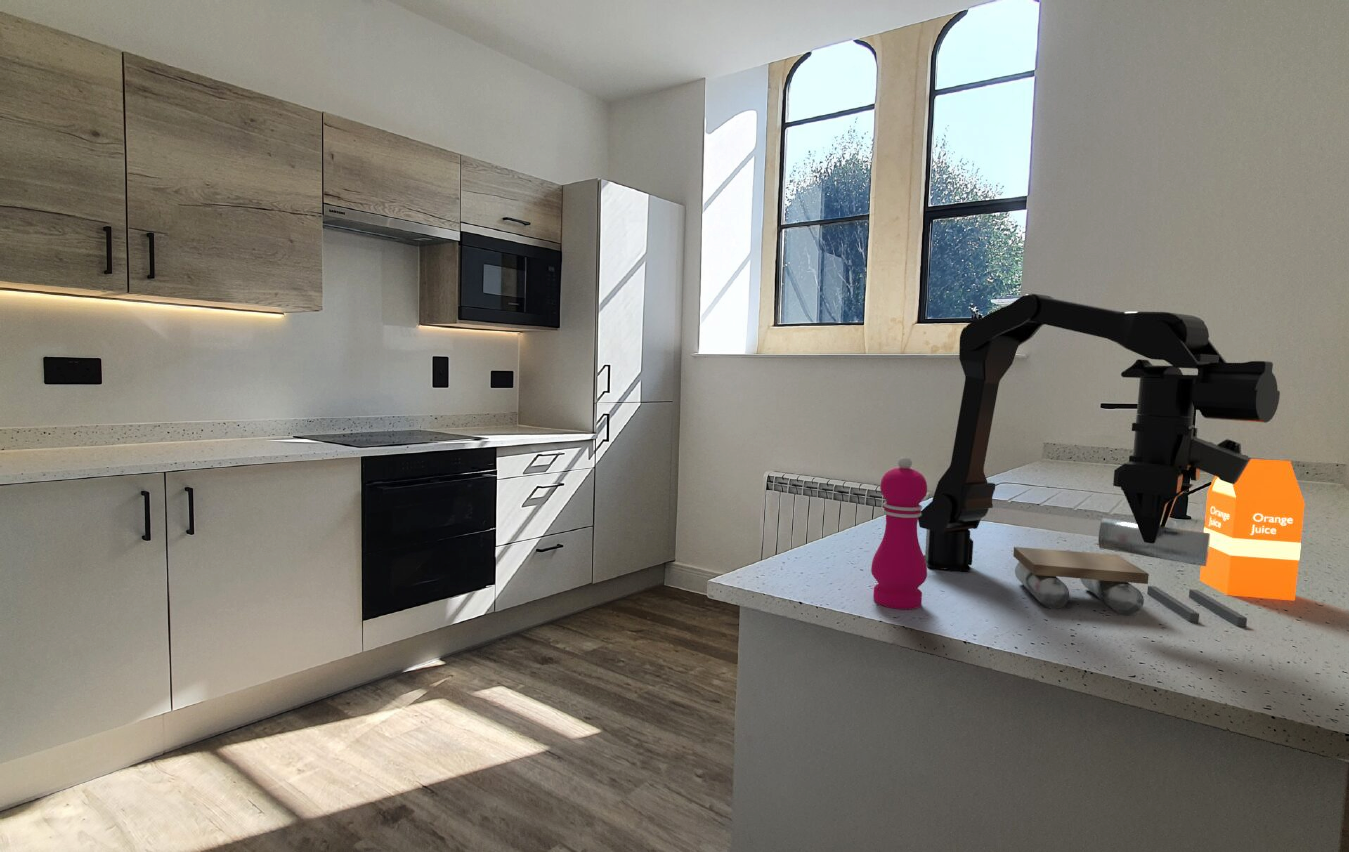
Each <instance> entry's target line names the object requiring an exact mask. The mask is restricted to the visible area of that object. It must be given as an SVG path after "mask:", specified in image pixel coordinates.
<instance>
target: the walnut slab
mask: <svg viewBox="0 0 1349 852" xmlns="http://www.w3.org/2000/svg"><path fill="white" fill-rule="evenodd" d="M1012 557H1014V558H1015V559H1016V560H1017V561H1018V563H1019V562H1020V563H1021V564H1022V565H1024V566H1025V567H1026V568H1027V569H1028V570H1029V571H1030V572H1031V573H1032V574H1033V575H1044V576H1056V577H1057V578H1059V577H1060V578H1068V579H1069V578H1070V579H1071V578H1072V579H1080V578H1081V579H1093V580H1105V581H1117V582H1128V583H1129V584H1132V583H1134V584H1142V585H1143V584H1145V585H1148V584H1149V575H1150V574H1149V573H1148V572H1146V571H1145V570H1144V569H1141V568H1140V567H1139V566H1137V565H1135V564H1133V563H1132V562H1130V561H1129V560H1127V559H1125V558H1124V557H1122V556H1120V555H1118V554H1115V553H1114V554H1113V553H1101V552H1087V551H1085V552H1084V551H1073V550H1060V549H1047V548H1034V547H1033V548H1032V547H1018V546H1013V555H1012ZM1081 579H1080V580H1081Z"/></svg>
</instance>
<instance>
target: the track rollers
mask: <svg viewBox="0 0 1349 852" xmlns="http://www.w3.org/2000/svg"><path fill="white" fill-rule="evenodd" d="M1014 575H1015V577H1016V579H1017V580H1018V581H1019V582H1020V583H1021V585H1023V587H1025V589H1027V590H1028V592H1029V593H1030V594H1031V595H1033V597H1034V598H1036V600H1037V601H1038V602H1039V603H1040V604H1041V605H1042V606H1044V607H1046V608H1048V609H1060V608H1062V607H1063V606H1065V605H1066V604H1067V602H1068V601H1069V599H1070V590H1069V587H1068V586H1067V585H1066V584H1065V583H1064V582H1063V581H1062V580H1061V579H1060V578H1059V577H1057V576H1044V575H1033V574H1032V573H1031V572H1030V571H1029V570H1028V569H1027V568H1026V567H1025V566H1024V565H1022V564H1021V563H1020V562H1019V561H1018V563H1017V564H1016V566H1015V568H1014ZM1079 579H1080V582H1081V584H1082V586H1084V587H1085V588H1086V589H1088V591H1090V592H1091V593H1093V594H1094V595H1095V596H1096V597H1098V599H1100V600H1101V601H1102V602H1104V603H1105V604H1106V605H1107V606H1109V607H1110V608H1112V609H1113V610H1114V611H1115V612H1117V613H1118V614H1120V615H1123V616H1133V615H1135V614H1137V613H1139V612H1140V611H1141V610H1142V608H1143V607H1144V603H1145V599H1144V595H1143V593H1142V592H1141V590H1139V588H1137V587H1136V586H1134V585H1132V583H1130V582H1117V581H1105V580H1093V579H1081V578H1079Z"/></svg>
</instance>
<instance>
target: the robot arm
mask: <svg viewBox="0 0 1349 852" xmlns="http://www.w3.org/2000/svg"><path fill="white" fill-rule="evenodd" d="M1044 325H1046V326H1051V327H1054V328H1059V329H1063V330H1069V331H1073V332H1076V333H1082V334H1086V335H1090V336H1094V337H1099V338H1103V339H1107V340H1110V341H1112V342H1114V343H1116V344H1117V345H1119V346H1121V348H1124V349H1126V350H1128V351H1131V352H1132V353H1135V354H1137V355H1140V356H1142V357H1144V358H1147V359H1139V358H1138V359H1136V361H1135V362H1134V363H1133V364H1132V365H1131V366H1128V368H1126V369H1125V370H1123V371H1121V374H1120V376H1121V377H1122V378H1128V379H1129V378H1130V379H1134V378H1135V379H1139V382H1138V383H1139V385H1138V395H1137V404H1136V405H1137V406H1136V407H1137V409H1136V417H1135V422H1132V423H1131V432H1134V437H1133V439H1134V441H1133V451H1132V454H1130V455H1129V457H1128V462H1125V463H1123V464H1121V465H1120V466H1118V467H1117V468H1116V469H1114V470H1113V482H1112V486H1113V487H1117V488H1120V490H1121V491H1122V492H1123V494H1124V497H1125V499H1126V501H1127V504H1128V507H1129V508H1130V511H1131V513H1132V515H1133V518H1134V520H1135V522H1136V523H1137V525H1138V528H1139V530H1140V533H1141V535H1142V538H1143V540H1144V542H1146V543H1151V544H1153V543H1155V541H1156V538H1157V535H1158V532H1159V529H1160V526H1163V527H1167V524H1168V522H1169V518H1170V516H1171V513H1172V510H1173V507H1174V505H1175V502H1176V501H1177V498H1178V497H1179V496H1181V495H1182V494H1183V493H1185V492H1186V491H1188V490H1190V489H1191V488H1193V487H1194V484H1192V483H1188V482H1187V483H1186V482H1183V478H1186V479H1187V478H1188V479H1190V481H1198V480H1200V473H1201V472H1200V471H1202V472H1205V473H1207V474H1210V475H1212V476H1214V477H1215V476H1217V477H1218V478H1219V479H1220V480H1222V481H1225V482H1227V483H1230V484H1235V483H1236V482H1237V481H1238V479H1239V478H1240V476H1241V474H1242V473H1243V471H1244V470H1245V468H1246V466H1247V465H1248V463H1249V461H1250V460H1251V459H1252V458H1251V457H1249V455H1246V454H1242V444H1241V443H1239V442H1237V441H1234V440H1232V439H1229V438H1226V439H1224V440H1222V441H1221V442H1219V443H1218V444H1215V443H1214V442H1212V441H1207V440H1204V439H1201V438H1199V437H1198V427H1196V425H1194V424H1193V422H1194V421H1193V420H1194V412H1195V411H1199V412H1200V414H1201V416H1202V417H1203V418H1205V419H1210V420H1222V421H1223V420H1224V421H1238V422H1239V421H1241V422H1251V423H1252V422H1253V423H1268V422H1271V420H1272V419H1273V418H1274V416H1275V414H1276V412H1277V410H1278V406H1279V404H1280V403H1279V402H1280V397H1281V392H1280V390H1279V389H1278V382H1277V379H1276V376H1275V374H1274V373H1273V369H1274V368H1273V367H1274V363H1273V362H1272V361H1269V360H1268V361H1267V360H1250V361H1246V362H1227V361H1226V360H1225V359H1224V357H1223V356H1222V355H1221V353H1220V352H1219V351H1218V350H1217V348H1216V347H1215V346H1214V345H1213V343H1212V342H1211V341H1210V340H1209V339H1210V338H1209V337H1210V335H1209V334H1210V333H1209V329H1208V327H1207V325H1206V323H1205V321H1204V320H1203V319H1201V318H1200V317H1198V316H1194V315H1190V314H1182V313H1176V312H1167V311H1120V310H1115V309H1114V310H1113V309H1108V308H1104V307H1098V306H1093V305H1087V304H1082V303H1079V302H1078V303H1077V302H1073V301H1068V300H1062V299H1058V298H1054V297H1052V296H1050V295H1045V294H1038V293H1027V294H1023V295H1022V296H1020V297H1019V298H1017V299H1016V300H1014V301H1013V302H1011V303H1010V304H1008V305H1005V306H1003V307H1001V308H998V309H997V310H994V311H992V312H990V313H988V314H986V315H985V316H983V317H982V318H980V319H979V320H978V319H977V320H973V321H971V322H969V323H968V324H967V325H966V326H964V327H963V328H962V330H961V331H960V335H959V342H958V343H959V344H958V345H959V347H958V349H959V350H958V351H959V352H958V353H959V355H958V360H959V362H960V365H961V368H962V371H963V374H964V385H963V390H962V395H961V402H960V406H959V408H960V409H959V414H958V419H957V425H956V430H955V437H954V443H953V446H952V447H953V448H952V454H951V458H950V464H949V466H948V468H947V469H946V471H944V473H943V474H942V476H941V477H940V478H939V480H938V481H937V484H936V487H935V490H934V494H933V496H932V500H931V502H929V503H928V505H926V506H924V508H922V509H921V513H922V515H921V516H920V517H918V522H917V523H918V527H919V528H921V529H924V530H926V536H925V550H924V551H925V552H924V553H925V554H923V556H924V558H925V562H926V566H927V568H930V569H938V570H939V569H940V570H950V571H951V570H952V571H965V572H971V570H972V568H971V566H972V565H973V556H974V555H973V553H974V540H973V539H972V538H971V529H972V530H976V529H978V527H979V525H980V523H981V520H982V518H984V517H986V516H987V514H988V511H989V509H993V508H994V507H993V506H994V505H993V496H994V493H995V490H996V483H994V482H988V480H987V476H986V474H985V470H984V469H985V462H986V456H987V452H988V446H989V443H990V442H989V440H990V434H991V429H992V424H993V419H994V413H995V408H996V403H997V397H998V391H999V387H1000V386H999V385H1000V381H1001V380H1002V378H1003V377H1004V376H1005V374H1006V373H1007V372H1008V370H1009V369H1010V368H1011V366H1012V365H1013V362H1014V360H1015V357H1016V354H1017V351H1018V348H1019V346H1021V345H1023V344H1024V343H1025V342H1028V340H1030V339H1031V338H1033V337H1034V336H1035V334H1036V333H1038V331H1039V330H1040V329H1041V328H1042V327H1043V326H1044ZM1148 359H1150V360H1158V361H1165V362H1166V363H1168V364H1169V365H1153V364H1152V363H1151V362H1150V361H1149V360H1148ZM1181 369H1195V370H1197V374H1183V372H1182V370H1181Z"/></svg>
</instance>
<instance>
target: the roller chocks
mask: <svg viewBox="0 0 1349 852" xmlns="http://www.w3.org/2000/svg"><path fill="white" fill-rule="evenodd" d="M1188 590H1189V592H1188V598H1189V599H1190V600H1192V601H1194V602H1195V603H1198V604H1199V605H1201V606H1203V607H1205V608H1206V609H1208V610H1209V611H1211V612H1213V613H1214V614H1215V615H1217V616H1220V617H1221V618H1222V619H1225V620H1226V621H1227V622H1229V623H1231V624H1232V625H1234V626H1236V627H1241V628H1247V622H1248V617H1246V616H1245V615H1242V614H1241V613H1239V612H1237V610H1236V611H1235V610H1234V609H1232V608H1230V607H1228V606H1226V605H1225V604H1223V603H1221V602H1219V601H1218V600H1216V599H1214V598H1213V597H1211V596H1209V595H1207V594H1205V593H1204V592H1202V591H1201V590H1198V589H1192V588H1191V589H1190V588H1189V589H1188ZM1146 592H1147V595H1149V596H1150V597H1151V598H1153V599H1154V600H1156V601H1158V602H1159V603H1160V604H1162V605H1164V606H1165V607H1166V608H1168V609H1169V610H1171V611H1173V612H1174V613H1175V614H1177V615H1179V616H1180V617H1182V618H1183V619H1184V620H1186V621H1188V622H1189V623H1195V624H1196V623H1197V624H1198V623H1199V620H1200V613H1199V612H1198V611H1196V610H1194V609H1192V608H1191V607H1190V606H1187V605H1186V604H1185V603H1183V602H1181V601H1180V600H1178V599H1177V598H1175V597H1174V596H1172V595H1170V594H1168V592H1166V591H1164V590H1162V589H1160V588H1159V587H1158V586H1155V585H1154V586H1153V585H1147V591H1146Z"/></svg>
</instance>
